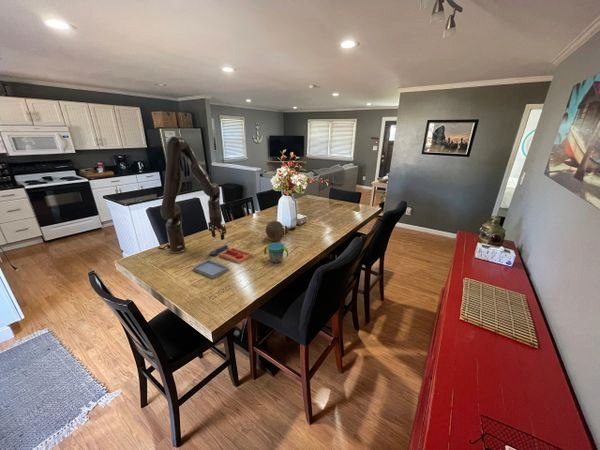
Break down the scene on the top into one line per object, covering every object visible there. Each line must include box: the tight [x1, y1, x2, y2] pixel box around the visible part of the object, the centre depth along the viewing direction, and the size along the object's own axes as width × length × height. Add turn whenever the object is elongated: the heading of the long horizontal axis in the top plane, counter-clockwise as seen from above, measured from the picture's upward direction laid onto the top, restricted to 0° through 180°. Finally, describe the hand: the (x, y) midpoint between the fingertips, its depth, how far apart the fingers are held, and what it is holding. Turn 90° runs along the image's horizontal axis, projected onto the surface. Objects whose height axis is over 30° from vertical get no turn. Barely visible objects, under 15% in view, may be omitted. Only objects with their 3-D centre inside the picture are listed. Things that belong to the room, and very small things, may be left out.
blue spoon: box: [209, 244, 229, 257], centre depth 162 cm, size 13×5×3 cm, turn 148°
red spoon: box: [226, 248, 243, 259], centre depth 156 cm, size 13×5×3 cm, turn 58°
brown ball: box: [265, 220, 285, 242], centre depth 179 cm, size 14×14×15 cm
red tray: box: [219, 247, 253, 264], centre depth 156 cm, size 17×11×2 cm, turn 58°
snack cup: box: [263, 242, 289, 264], centre depth 150 cm, size 16×10×10 cm
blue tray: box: [192, 259, 229, 279], centre depth 140 cm, size 17×11×2 cm, turn 58°
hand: (218, 238), depth 159 cm, fingers open, 8 cm apart
